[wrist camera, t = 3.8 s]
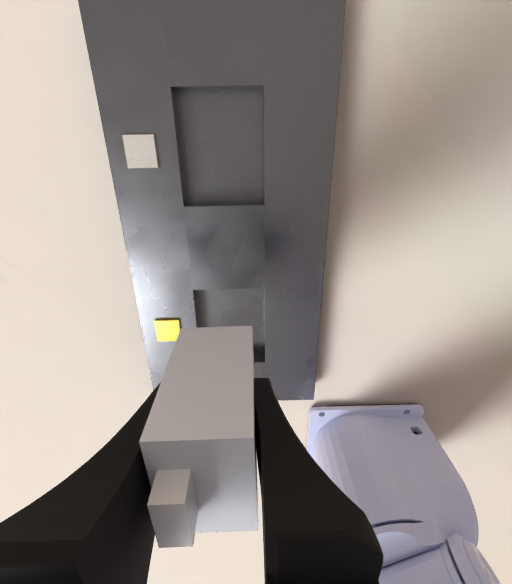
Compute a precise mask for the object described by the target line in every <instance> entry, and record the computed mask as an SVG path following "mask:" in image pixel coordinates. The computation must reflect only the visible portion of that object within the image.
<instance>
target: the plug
mask: <svg viewBox="0 0 512 584" xmlns="http://www.w3.org/2000/svg"><path fill="white" fill-rule="evenodd" d="M139 444H140V447H141V451H142V455H143V459H144V463H145V466H146V470H147V474H148V478H149V481H150V485H151V493H150V496H149V500H148V504H147V507H148V510H149V514H150V518H151V521H152V525H153V528H154V532H155V535H156V539H157V542H158V546H159V548H162V547H188V546H193V544H194V537H195V533H203V532H229V531H256V530H258V495H257V452H256V432H255V408H254V355H253V331H252V326H228V327H201V328H181V329H180V332H179V335H178V337H177V340H176V343H175V346H174V348H173V351H172V354H171V356H170V359H169V362H168V365H167V367H166V370H165V373H164V375H163V378H162V381H161V384H160V386H159V389H158V392H157V395H156V397H155V400H154V403H153V405H152V408H151V411H150V414H149V416H148V419H147V422H146V424H145V427H144V430H143V433H142V435H141V438H140V441H139Z"/></svg>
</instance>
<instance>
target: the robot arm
mask: <svg viewBox="0 0 512 584" xmlns="http://www.w3.org/2000/svg"><path fill="white" fill-rule="evenodd" d="M160 384H161V382H160V383H159V384H158V386H157V387H156V388H155V389H154V391H153V392H152V393H151V394H150V396H149V397H148V398H147V400H146V401H145V402H144V403H143V404H142V406H141V407H140V408H139V409H138V410H137V412H136V413H135V414H134V415H133V416H132V417H131V419H130V420H129V421H128V422H127V423H126V424H125V425H124V426H123V427H122V428H121V429H120V430H119V432H118V433H117V434H116V435H115V436H114V437H113V438H112V439H111V440H110V441H109V442H108V443H107V444H106V445H105V446H104V447H103V448H102V449H101V450H99V451H98V452H97V453H96V454H95V455H94V456H93V457H92V458H91V459H90V460H88V461H87V462H86V463H85V464H84V465H82V466H81V467H80V468H79V469H77V470H76V471H75V472H74V473H73V474H71V475H70V476H69V477H68V478H66V479H65V480H64V481H62V482H61V483H60V484H58V485H57V486H56V487H54V488H53V489H51V490H50V491H49V492H47V493H46V494H44V495H43V496H42V497H40V498H39V499H37V500H36V501H34V502H33V503H31V504H30V505H28V506H27V507H25V508H23V509H22V510H20V511H19V512H17V513H15V514H14V515H12V516H11V517H9V518H8V519H6V520H4V521H3V522H1V523H0V584H147V578H148V572H149V565H150V559H151V554H152V548H153V542H154V536H155V532H154V528H153V525H152V521H151V518H150V514H149V510H148V507H147V504H148V500H149V496H150V493H151V485H150V481H149V478H148V474H147V470H146V466H145V463H144V459H143V455H142V451H141V447H140V444H139V441H140V438H141V435H142V433H143V430H144V427H145V424H146V422H147V419H148V416H149V414H150V411H151V408H152V405H153V403H154V400H155V397H156V395H157V392H158V389H159V386H160ZM254 408H255V432H256V452H257V460H258V469H259V477H260V486H261V496H262V514H263V543H264V571H265V584H501V583H500V581H499V580H498V578H497V577H496V575H495V573H494V572H493V570H492V569H491V567H490V566H489V564H488V563H487V561H486V560H485V558H484V557H483V555H482V554H481V552H480V551H479V550H478V548H477V543H478V521H477V516H476V512H475V509H474V505H473V502H472V499H471V497H470V494H469V492H468V490H467V488H466V486H465V484H464V482H463V480H462V478H461V477H460V475H459V473H458V472H457V470H456V469H455V467H454V465H453V464H452V462H451V461H450V459H449V458H448V456H447V454H446V453H445V451H444V450H443V448H442V446H441V445H440V443H439V442H438V440H437V439H436V437H435V435H434V434H433V432H432V431H431V429H430V427H429V426H428V424H427V423H426V421H425V419H424V418H423V415H424V412H425V410H424V408H423V407H422V405H419V404H414V405H373V406H332V407H313V408H311V409H310V410H309V420H308V434H307V447H306V448H305V447H304V446H303V444H302V443H301V441H300V440H299V438H298V437H297V435H296V434H295V432H294V431H293V429H292V427H291V426H290V424H289V422H288V420H287V419H286V417H285V415H284V413H283V411H282V409H281V407H280V405H279V403H278V401H277V398H276V396H275V394H274V391H273V388H272V385H271V381H270V379H269V378H254ZM405 410H406V411H405ZM320 412H323V413H320Z"/></svg>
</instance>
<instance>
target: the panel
mask: <svg viewBox="0 0 512 584" xmlns="http://www.w3.org/2000/svg"><path fill="white" fill-rule="evenodd" d="M78 2H79V7H80V12H81V18H82V23H83V28H84V33H85V38H86V44H87V49H88V54H89V59H90V64H91V69H92V75H93V80H94V85H95V90H96V95H97V100H98V106H99V111H100V116H101V121H102V126H103V131H104V137H105V142H106V147H107V152H108V157H109V163H110V168H111V173H112V178H113V183H114V188H115V194H116V199H117V204H118V209H119V214H120V219H121V225H122V230H123V235H124V240H125V245H126V250H127V256H128V261H129V266H130V271H131V276H132V282H133V287H134V292H135V297H136V302H137V307H138V313H139V318H140V323H141V328H142V333H143V338H144V344H145V349H146V354H147V359H148V364H149V369H150V375H151V380H152V385H153V390H154V389H155V388H156V387H157V386H158V384H159V383H160V382H161V381H162V378H163V375H164V373H165V370H166V367H167V365H168V362H169V359H170V356H171V354H172V351H173V348H174V346H175V343H176V340H177V337H178V335H179V332H180V329H181V328H201V327H228V326H252V331H253V355H254V378H269V379H270V381H271V385H272V388H273V391H274V394H275V396H276V398H277V400H314V389H315V377H316V364H317V352H318V339H319V326H320V314H321V301H322V289H323V276H324V264H325V251H326V239H327V226H328V214H329V201H330V188H331V176H332V163H333V151H334V138H335V126H336V113H337V101H338V88H339V76H340V63H341V50H342V38H343V25H344V13H345V0H78Z"/></svg>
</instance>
